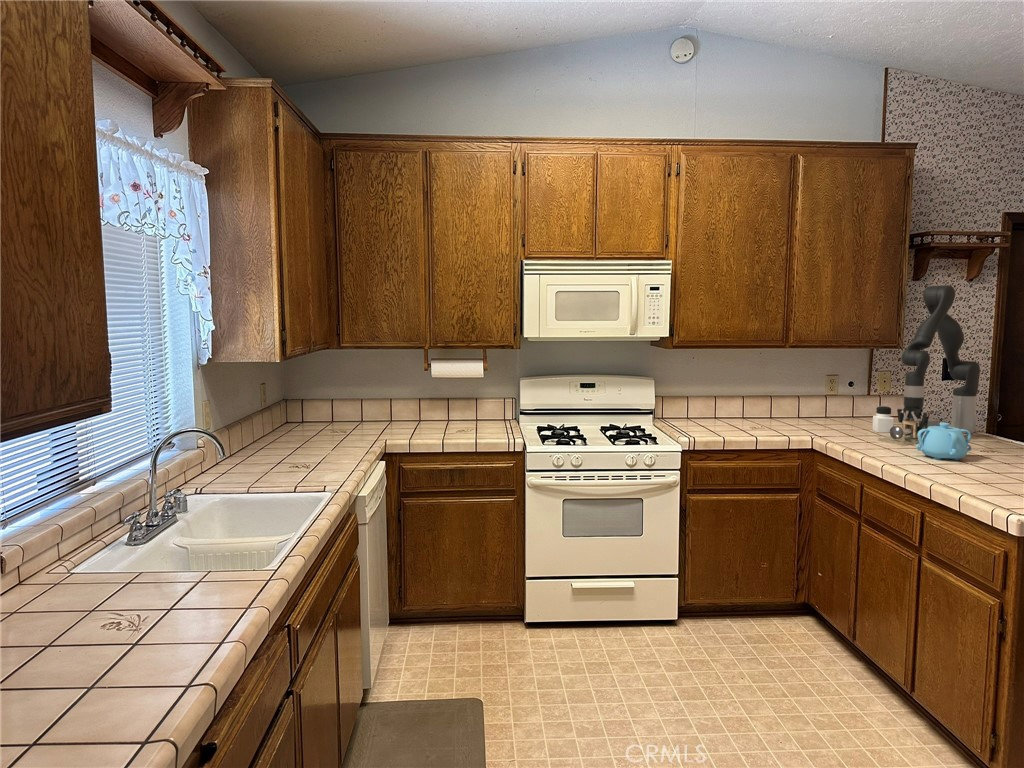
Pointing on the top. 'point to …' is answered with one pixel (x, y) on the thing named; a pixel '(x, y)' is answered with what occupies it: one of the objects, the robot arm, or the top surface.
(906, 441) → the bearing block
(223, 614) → the top surface
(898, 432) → the shaft
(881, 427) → the medicine bottle
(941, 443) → the decorative pot
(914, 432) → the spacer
